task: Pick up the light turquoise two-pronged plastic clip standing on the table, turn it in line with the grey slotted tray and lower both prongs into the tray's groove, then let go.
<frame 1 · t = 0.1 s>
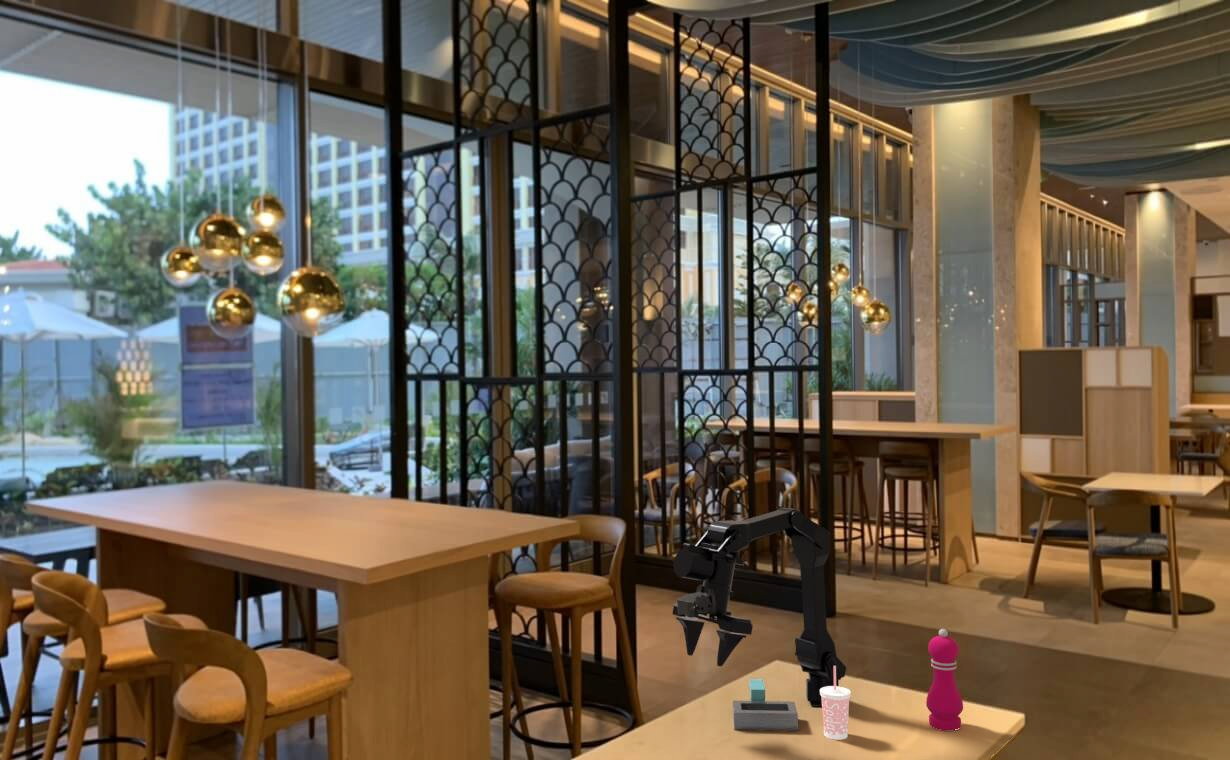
hand: (704, 660, 184), 15 cm above the table, tool pointing down, fingers open, 9 cm apart
beverage cup: (835, 736, 184), on the table
pepper mill: (945, 726, 188), on the table
clip: (757, 709, 199), on the table
grey slotted tray: (764, 723, 191), on the table
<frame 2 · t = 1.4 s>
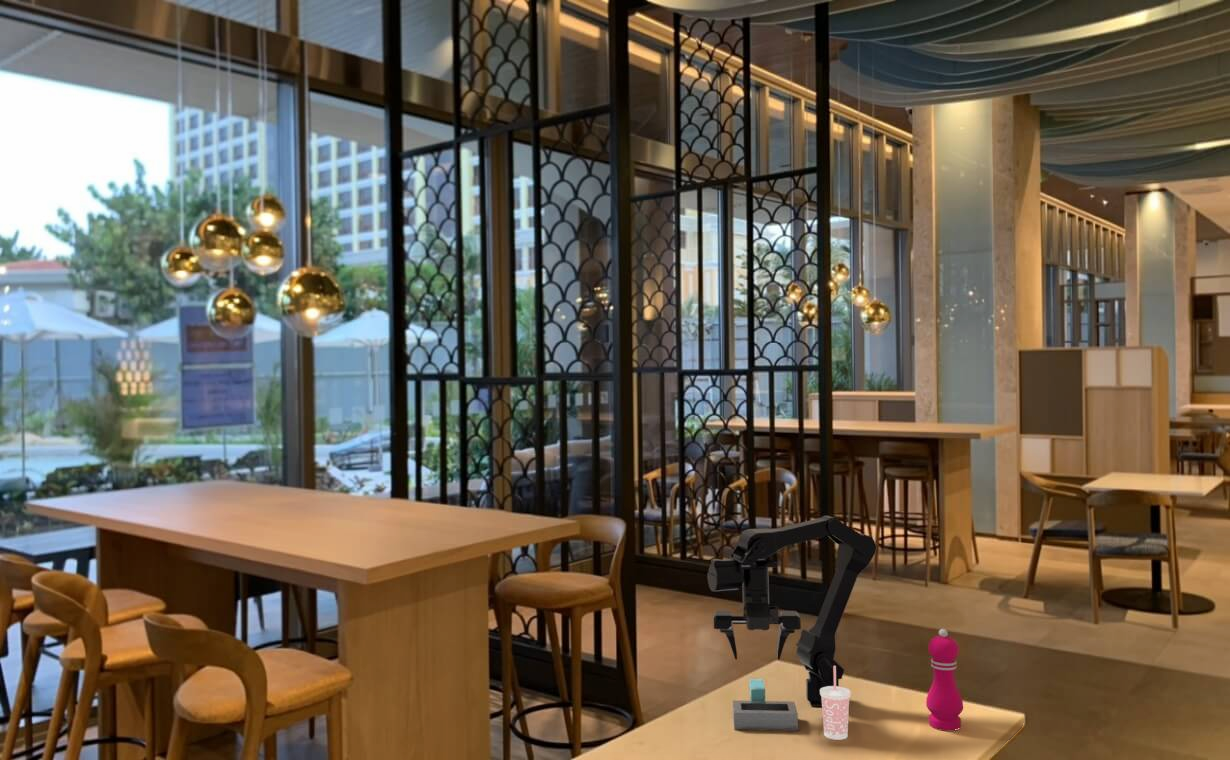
hand: (757, 659, 199), 11 cm above the table, tool pointing down, fingers open, 9 cm apart
nothing on the table moved.
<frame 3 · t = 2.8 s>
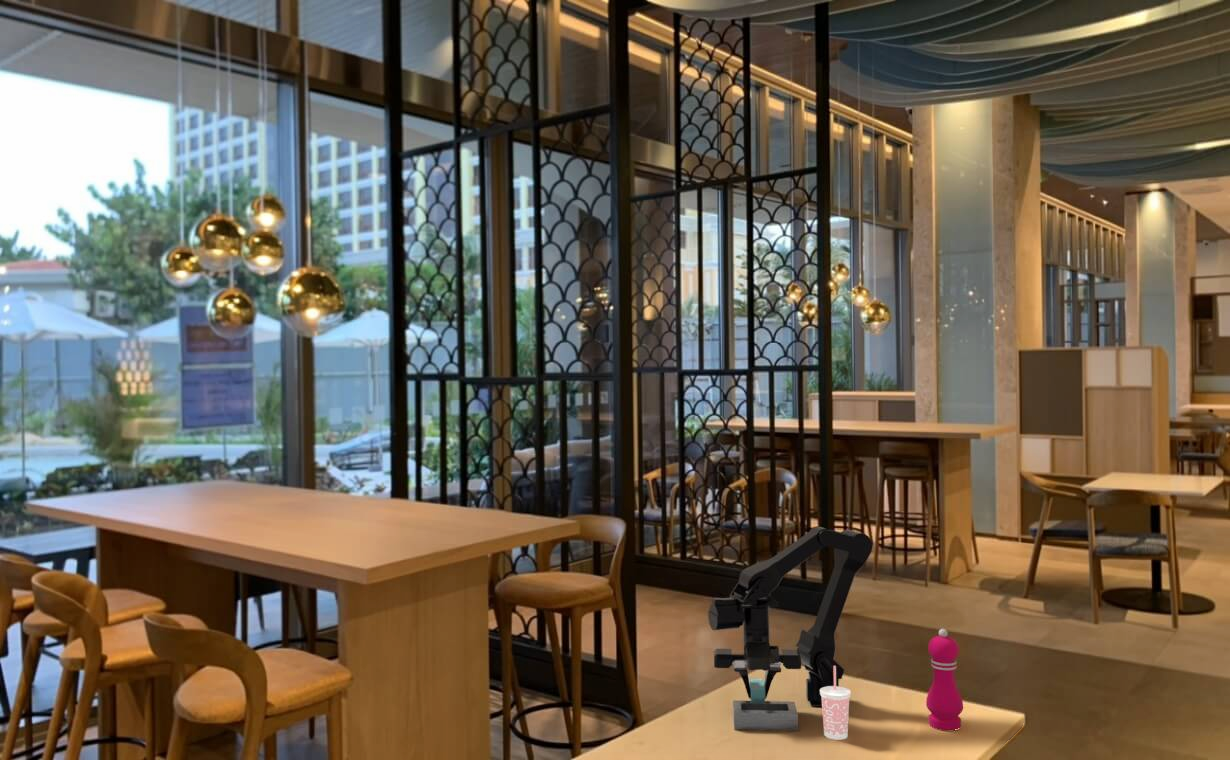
hand: (757, 697, 199), 3 cm above the table, tool pointing down, fingers closed on clip, 3 cm apart
clip: (757, 709, 199), on the table, touching gripper
everything else where it was.
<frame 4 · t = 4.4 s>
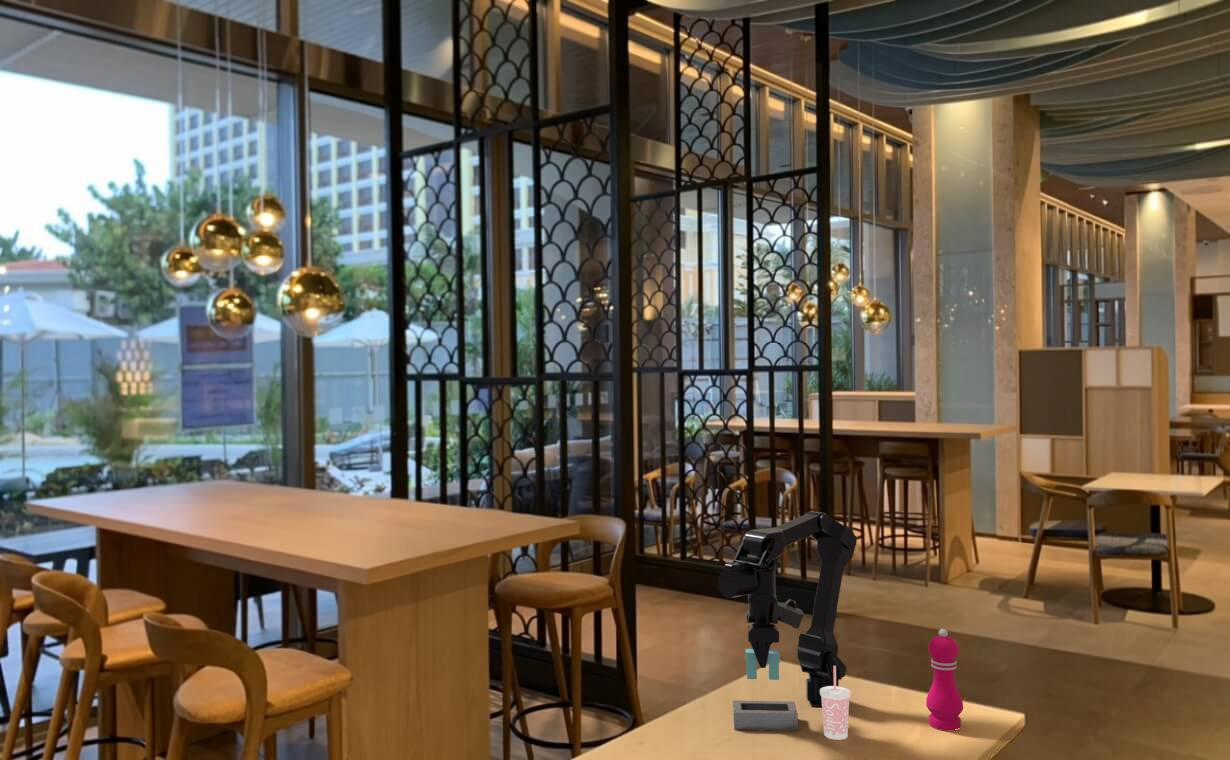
hand: (762, 665, 191), 12 cm above the table, tool pointing down, fingers closed on clip, 3 cm apart
clip: (762, 677, 191), point 10 cm above the table, touching gripper
everything else where it was.
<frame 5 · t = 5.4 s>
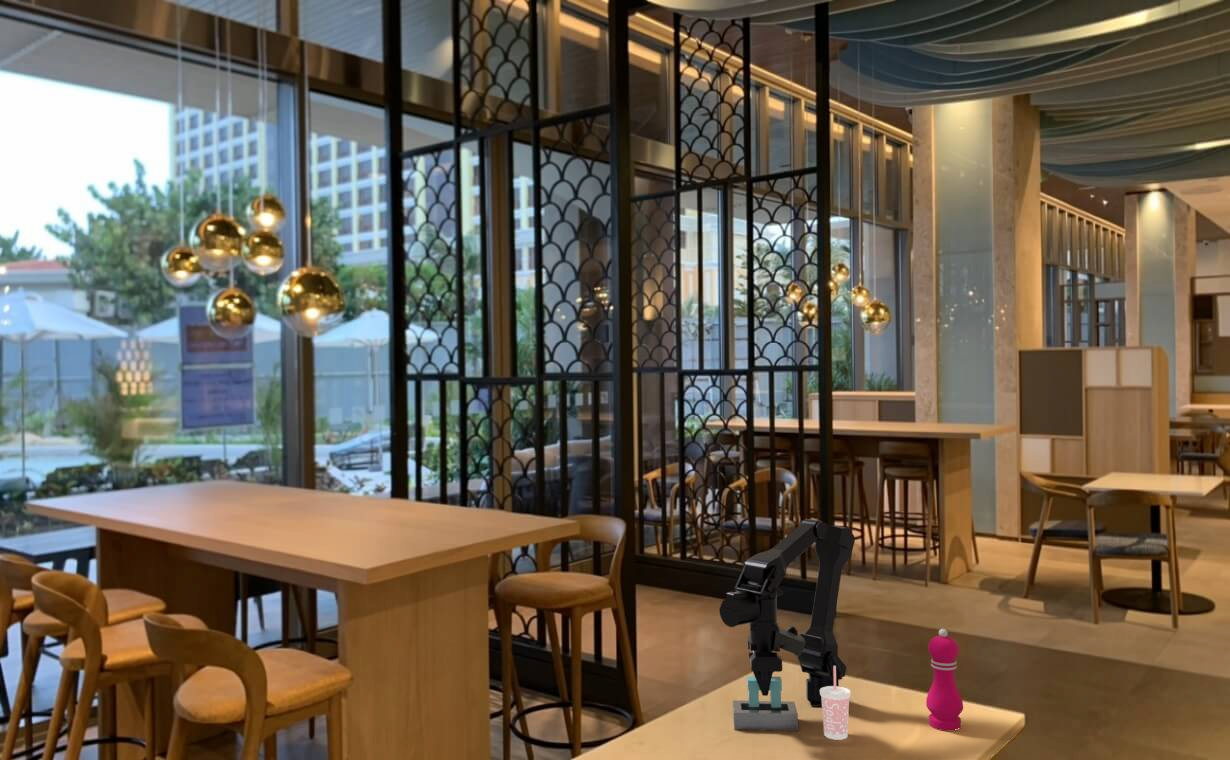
hand: (764, 692, 191), 6 cm above the table, tool pointing down, fingers closed on clip, 3 cm apart
clip: (764, 704, 191), point 4 cm above the table, touching gripper
everything else where it was.
when the fingers open (4 cm above the table, at t = 6.0 s): clip drops 1 cm, resting on grey slotted tray.
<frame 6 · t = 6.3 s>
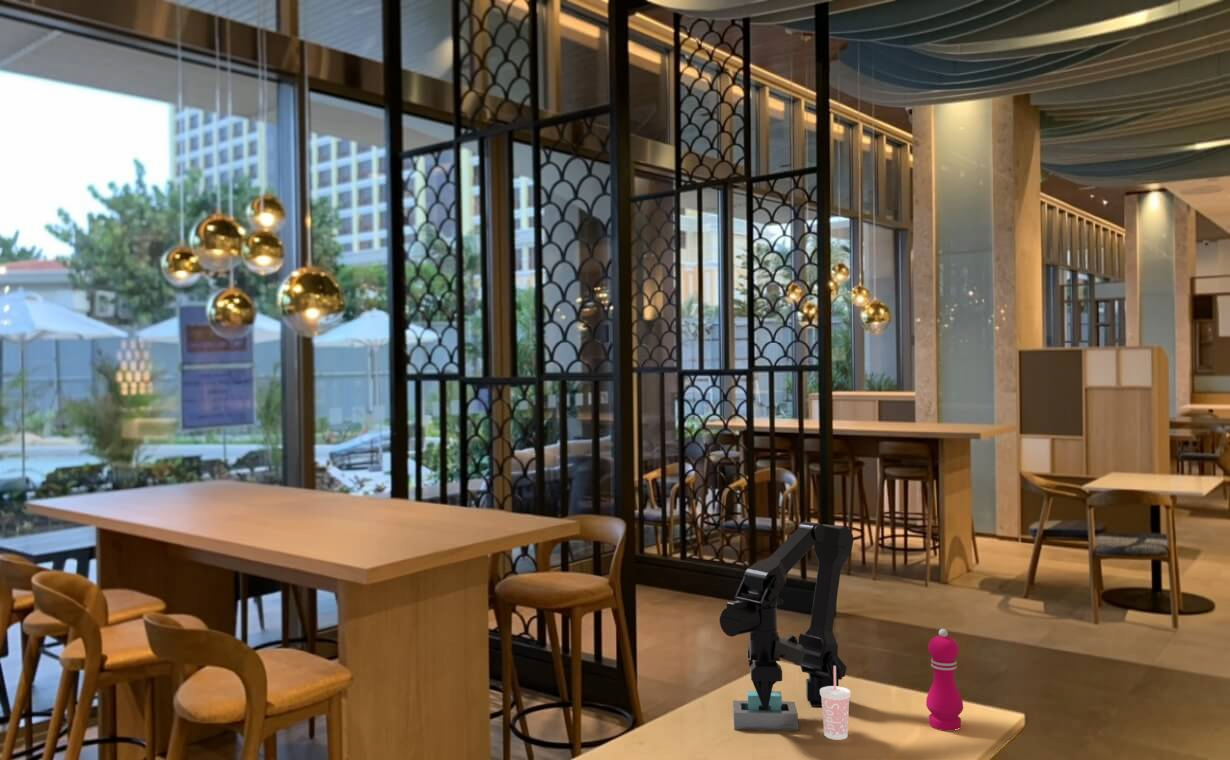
hand: (764, 702, 191), 4 cm above the table, tool pointing down, fingers open, 6 cm apart
clip: (764, 719, 191), point 1 cm above the table, touching grey slotted tray
everything else where it was.
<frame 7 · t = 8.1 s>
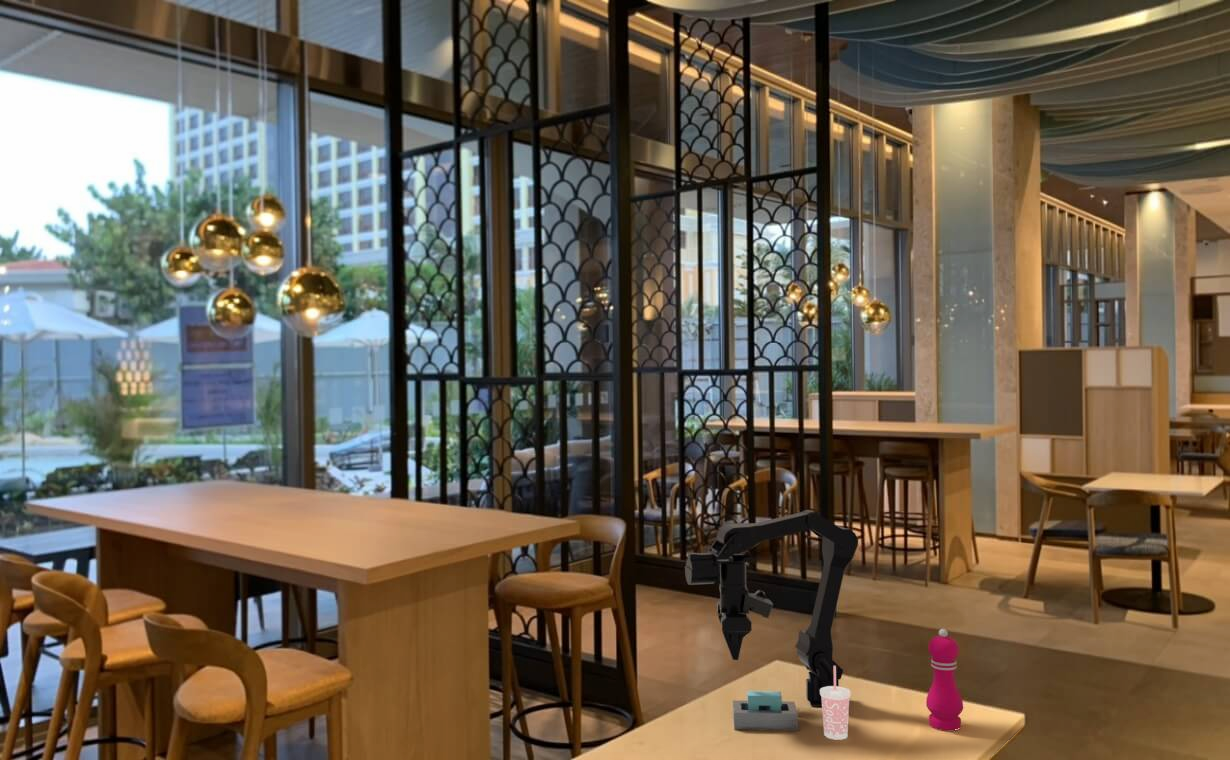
hand: (733, 653, 200), 12 cm above the table, tool pointing down, fingers open, 9 cm apart
nothing on the table moved.
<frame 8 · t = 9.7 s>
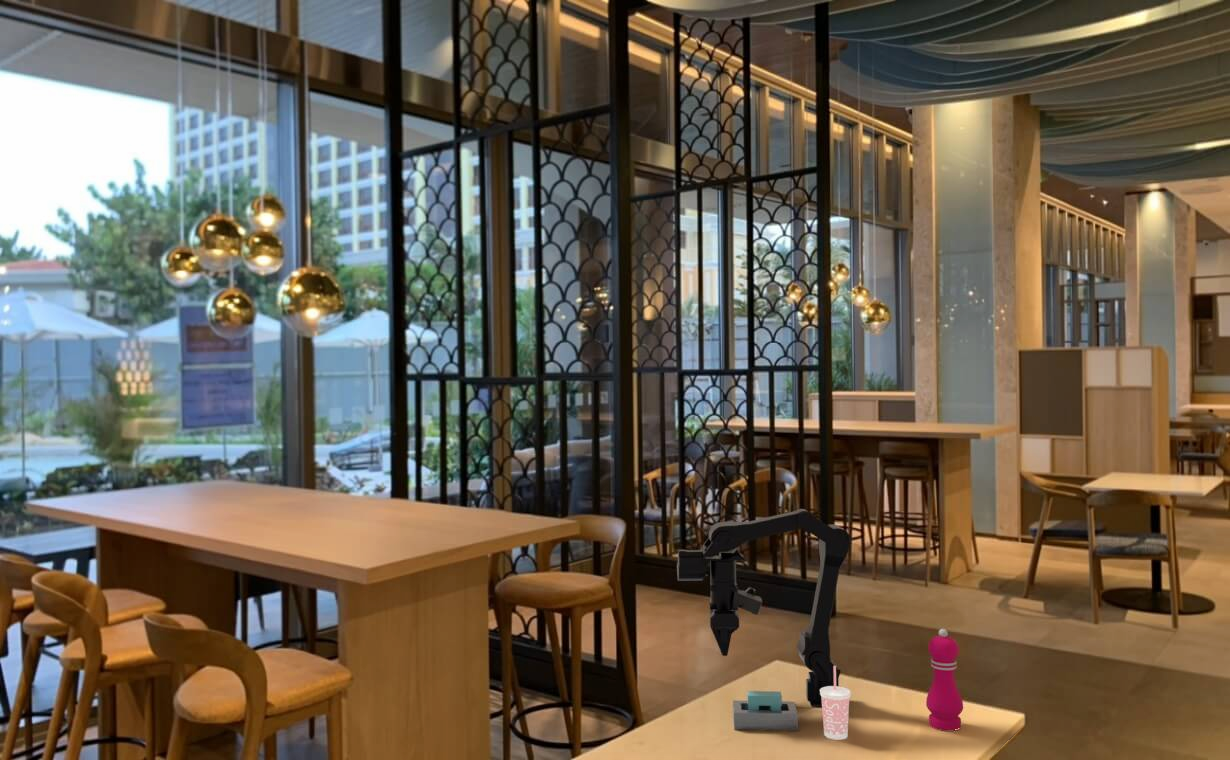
hand: (724, 649, 204), 12 cm above the table, tool pointing down, fingers open, 9 cm apart
nothing on the table moved.
at the end: clip 0.0 cm off-centre on the grey slotted tray, point 0.8 cm above the grey slotted tray's base; clip tilted 0°; the gripper is holding nothing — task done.
